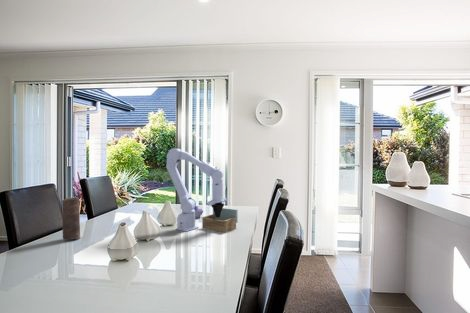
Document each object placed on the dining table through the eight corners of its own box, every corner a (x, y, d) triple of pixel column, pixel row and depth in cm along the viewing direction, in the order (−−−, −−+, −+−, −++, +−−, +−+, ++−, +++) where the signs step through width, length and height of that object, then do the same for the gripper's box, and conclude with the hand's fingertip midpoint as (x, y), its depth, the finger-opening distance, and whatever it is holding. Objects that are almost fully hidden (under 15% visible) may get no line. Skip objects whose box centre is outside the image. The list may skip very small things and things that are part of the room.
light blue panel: (236, 223, 166) (236, 210, 166) (212, 219, 175) (212, 207, 175) (237, 222, 167) (237, 209, 167) (214, 219, 176) (214, 206, 176)
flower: (199, 209, 184) (198, 200, 193) (186, 215, 185) (185, 205, 193) (205, 220, 189) (204, 210, 198) (193, 226, 189) (192, 216, 198)
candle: (72, 242, 143) (71, 199, 142) (58, 241, 144) (58, 198, 144) (83, 237, 150) (83, 196, 150) (70, 236, 152) (69, 196, 151)
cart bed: (226, 232, 158) (226, 220, 158) (202, 228, 167) (202, 217, 167) (236, 228, 166) (235, 217, 165) (212, 224, 175) (212, 214, 174)
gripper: (215, 193, 157) (215, 220, 157) (231, 190, 169) (231, 215, 169) (204, 192, 161) (204, 218, 161) (221, 189, 173) (221, 214, 173)
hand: (217, 217), depth 165 cm, fingers closed
